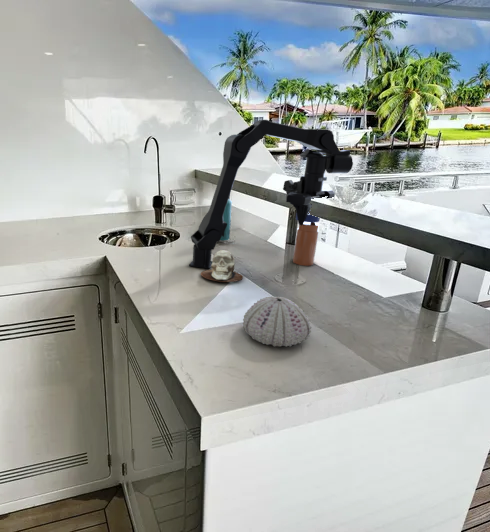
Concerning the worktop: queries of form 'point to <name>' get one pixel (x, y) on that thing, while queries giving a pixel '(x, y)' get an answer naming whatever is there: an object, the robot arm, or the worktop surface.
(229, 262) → the skull
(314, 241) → the jar
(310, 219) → the jar lid
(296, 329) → the sea urchin shell
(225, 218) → the beverage bottle
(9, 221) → the worktop surface
